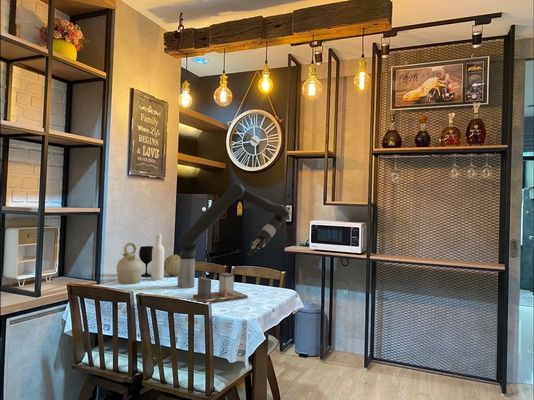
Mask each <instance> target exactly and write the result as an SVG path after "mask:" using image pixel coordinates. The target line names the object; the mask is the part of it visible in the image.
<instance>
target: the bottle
mask: <svg viewBox="0 0 534 400" xmlns="http://www.w3.org/2000/svg"><path fill="white" fill-rule="evenodd" d="M162 237H163V236H162V233H156V234H155V245H154V246H153V249H152V261H151V273H150V274H151V277H150V278H151V279H152V280H151V279H150V280H151V281H155V280H159V281H163V280H164V277H165V274H164V273H165V271H164V261H165V247H164V246H163V244H162V241H163V240H162Z"/></svg>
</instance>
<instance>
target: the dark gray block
mask: <svg viewBox="0 0 534 400" xmlns="http://www.w3.org/2000/svg"><path fill="white" fill-rule="evenodd" d="M211 293H212V279H210V278H207V277H205V276H199V277H198V278H197V294H198V296H199V297H201V298H203V299H211Z"/></svg>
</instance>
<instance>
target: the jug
mask: <svg viewBox="0 0 534 400" xmlns="http://www.w3.org/2000/svg"><path fill="white" fill-rule="evenodd" d="M129 246H132V248H133V251H132V252H128V247H129ZM123 250H124V251H123V253H122V256H123V257H122V258H120V259H119V261H118V262H117V264H116V273H117V280H118V282H119V284H121V285H136V283H137V284H139V283H140V281H141V279H142V277H141V274H143V267H144V266H143V262H142V261H141V260H140V257H137V256H136V252H137V246H136V244H135V243H133V242H128V243H126V244H125V246H124V248H123Z"/></svg>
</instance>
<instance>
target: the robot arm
mask: <svg viewBox="0 0 534 400" xmlns="http://www.w3.org/2000/svg"><path fill="white" fill-rule="evenodd" d="M238 199H240V200H242V201H244V202H247V203H249V204H251V205H253V206H254V207H256V208H258V209H259V210H261V211H263V212H266V213H267V214H271V215H272V214H275V215H273V217H272V218H271V219H269V221H268V222H267V223H266V225H264V226H263V227H262V228H261V230H260V231H259V232H258V234H257V238H255V240H254V241H253V240H252V241H251V240H250V245H249V248H250V250H249V251H248V252H247V255H248V257H252V256H253V255H254V254H255V253H256V252H260V251H261V250H263V249H265V248H266V247H267V245H266V244H268V243H269V242H270V241H271V239H272V238H273V236H275V234H276V232H277V231H278V230H279V228H280V226H281V225H283V223H284V222H285V221H286V220H287V219H288V217H289V216H290V209H289V208H288V207H287V206H285V205H283V204H282V205H281V204H278V203H276V202H275V203H274V202H272V201H271V200H269V199H266V198H264V197H262V196H259V195H258V194H255V193H254V192H252V191H250V190H248V189H247V188H245V187H244V186H243V185H242V184H240V183H238V182H236V183H232V184H230V186H229V187H228V188H227V190H226V191H225V192H224V193H223V194H222V195H221V196H220V197H219V199H217V200H216V201H214V202H213V203H212V204H211V205H210V206H209V207H208V208H206V210H205V211H204V212H203V213H202V214H201V215H200V216H199V218H198V219H197V220H196V221H195V222H194V223H193V224H192V225H191V226H190V227H189V228H188V229H186V230H185V231H184V232H183V233H182V234H181V235H180V236H179V239H178V244H179V246H180V247H181V250H180V253H179V256H180V265H179V271H178V276H177V287H178V288H180V289H182V288H183V289H192V288H194V287H195V275H196V274H195V273H196V272H195V271H196V270H195V269H196V268H195V267H196V252H197V241H198V240H197V239H198V238H199V237H200V236H201V235H202V234H203V233H204V232H205V231H207V230H208V229H210V228H211V227H212V226H213V225H215V224H216V222H218V221H219V219H220V218H221V217H222V216H223V215H224V214H225V213H226V211H227V210H228V208H229V207H230V206H231V205H232V204H233V203H234V202H235V201H237V200H238Z"/></svg>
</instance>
